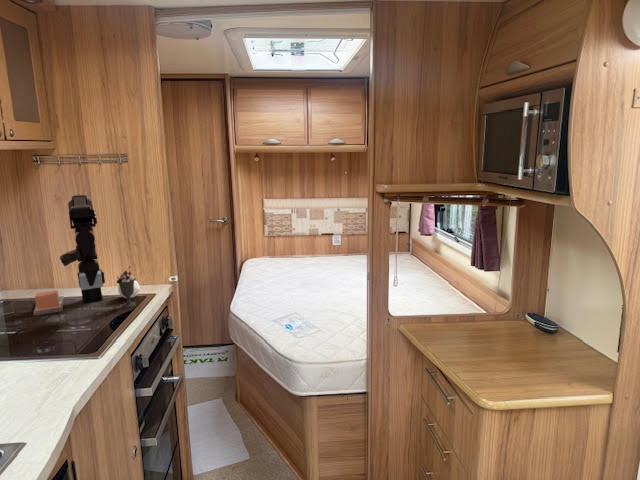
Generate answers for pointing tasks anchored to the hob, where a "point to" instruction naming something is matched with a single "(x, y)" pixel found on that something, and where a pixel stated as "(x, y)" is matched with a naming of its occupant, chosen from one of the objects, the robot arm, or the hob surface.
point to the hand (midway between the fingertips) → (91, 283)
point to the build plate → (52, 309)
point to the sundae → (127, 287)
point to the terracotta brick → (47, 299)
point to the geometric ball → (136, 290)
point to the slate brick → (85, 284)
